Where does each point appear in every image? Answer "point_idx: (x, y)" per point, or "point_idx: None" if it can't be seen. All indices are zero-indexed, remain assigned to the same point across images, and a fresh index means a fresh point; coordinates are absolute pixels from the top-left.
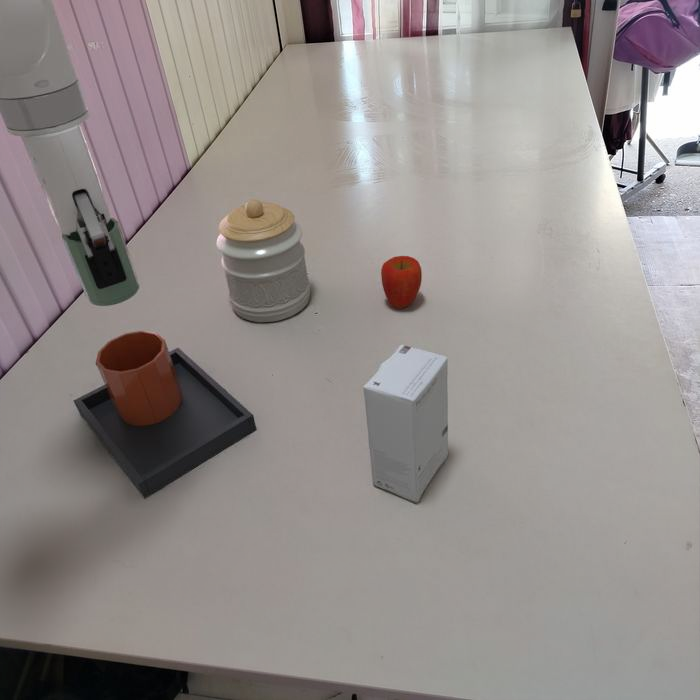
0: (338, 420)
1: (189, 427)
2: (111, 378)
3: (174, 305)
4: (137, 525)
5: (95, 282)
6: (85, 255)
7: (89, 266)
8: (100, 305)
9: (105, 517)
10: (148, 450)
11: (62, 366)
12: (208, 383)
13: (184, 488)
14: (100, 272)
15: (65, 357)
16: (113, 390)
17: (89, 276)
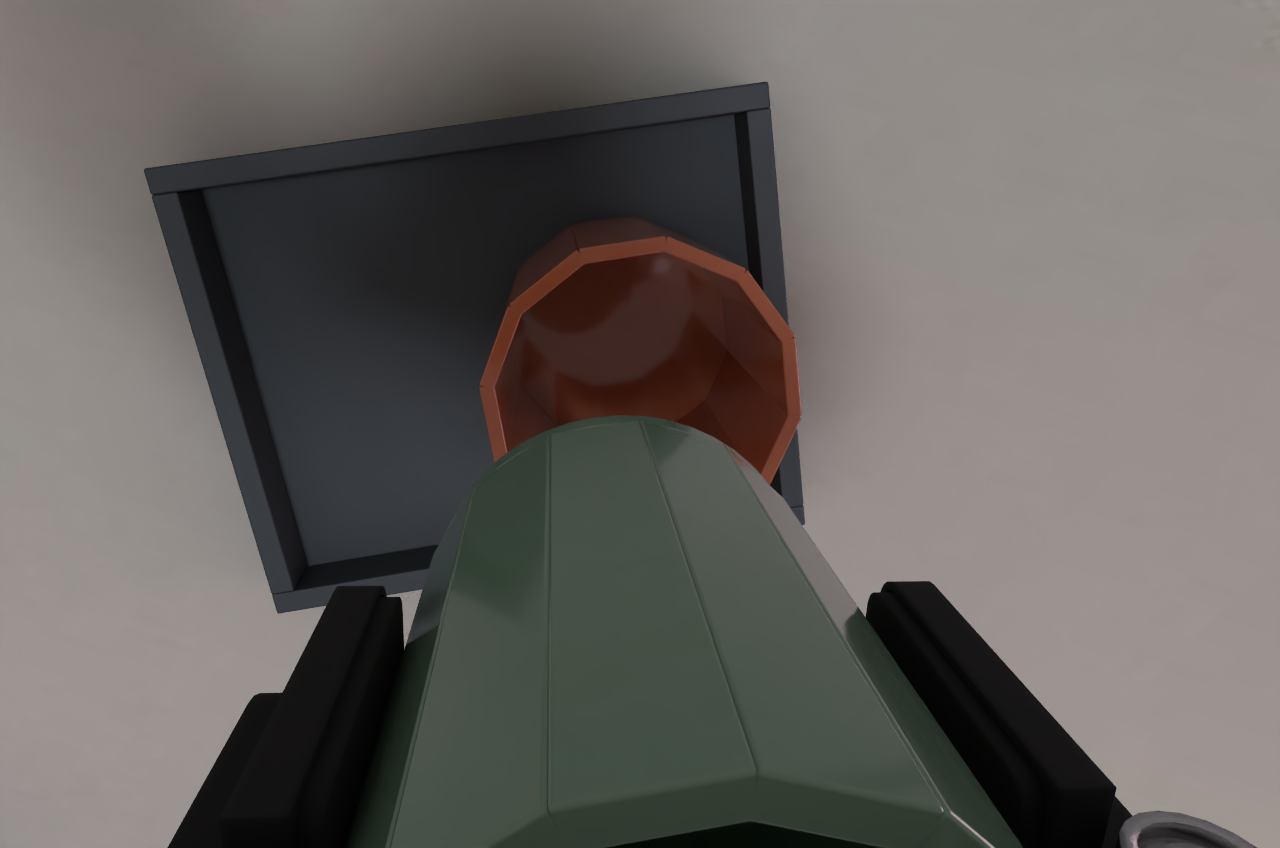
0: (202, 782)
1: (411, 409)
2: (550, 266)
3: (1120, 577)
4: (68, 108)
5: (322, 616)
6: (273, 831)
7: (265, 732)
8: (485, 472)
9: (160, 20)
10: (382, 252)
11: (1088, 103)
12: None
13: (158, 298)
14: (219, 757)
15: (1135, 129)
16: (563, 246)
17: (442, 600)
